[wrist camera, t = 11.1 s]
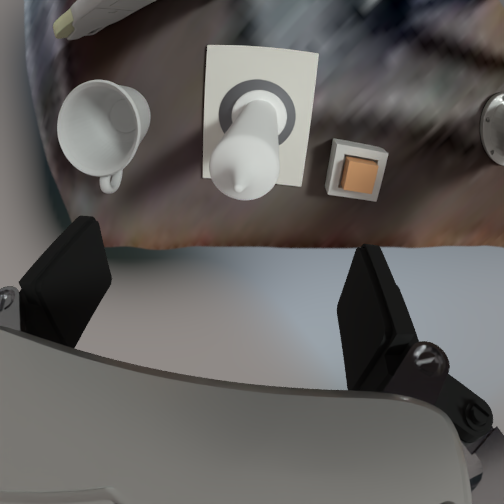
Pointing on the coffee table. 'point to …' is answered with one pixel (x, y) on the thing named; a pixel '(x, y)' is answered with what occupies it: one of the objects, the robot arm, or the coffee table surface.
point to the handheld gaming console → (94, 16)
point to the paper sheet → (261, 78)
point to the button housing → (338, 161)
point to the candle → (250, 147)
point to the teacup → (102, 129)
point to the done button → (359, 175)
